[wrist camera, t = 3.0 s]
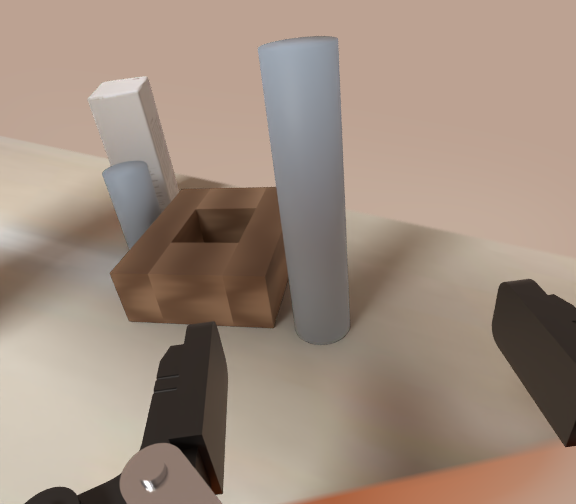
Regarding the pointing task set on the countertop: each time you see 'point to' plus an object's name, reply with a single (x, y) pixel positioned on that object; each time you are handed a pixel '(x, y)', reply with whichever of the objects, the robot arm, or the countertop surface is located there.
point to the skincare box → (134, 131)
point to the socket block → (208, 261)
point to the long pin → (309, 179)
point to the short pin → (132, 198)
